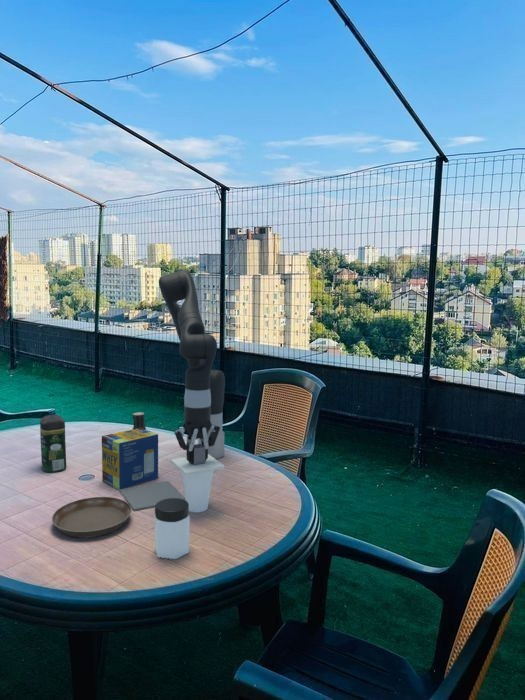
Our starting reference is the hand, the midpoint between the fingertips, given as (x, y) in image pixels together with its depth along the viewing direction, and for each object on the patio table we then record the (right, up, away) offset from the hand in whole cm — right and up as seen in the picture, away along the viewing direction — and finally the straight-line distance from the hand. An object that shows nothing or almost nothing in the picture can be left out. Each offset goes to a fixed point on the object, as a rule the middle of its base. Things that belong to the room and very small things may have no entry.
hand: (197, 461), depth 153 cm
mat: (-15, -13, +10) cm, 22 cm away
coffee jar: (-54, -9, +31) cm, 63 cm away
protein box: (-25, -11, +22) cm, 35 cm away
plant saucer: (-27, -15, -9) cm, 33 cm away
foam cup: (0, -14, +2) cm, 14 cm away
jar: (-3, -18, -23) cm, 29 cm away
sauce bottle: (-24, -10, +33) cm, 42 cm away
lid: (0, -1, 0) cm, 1 cm away
